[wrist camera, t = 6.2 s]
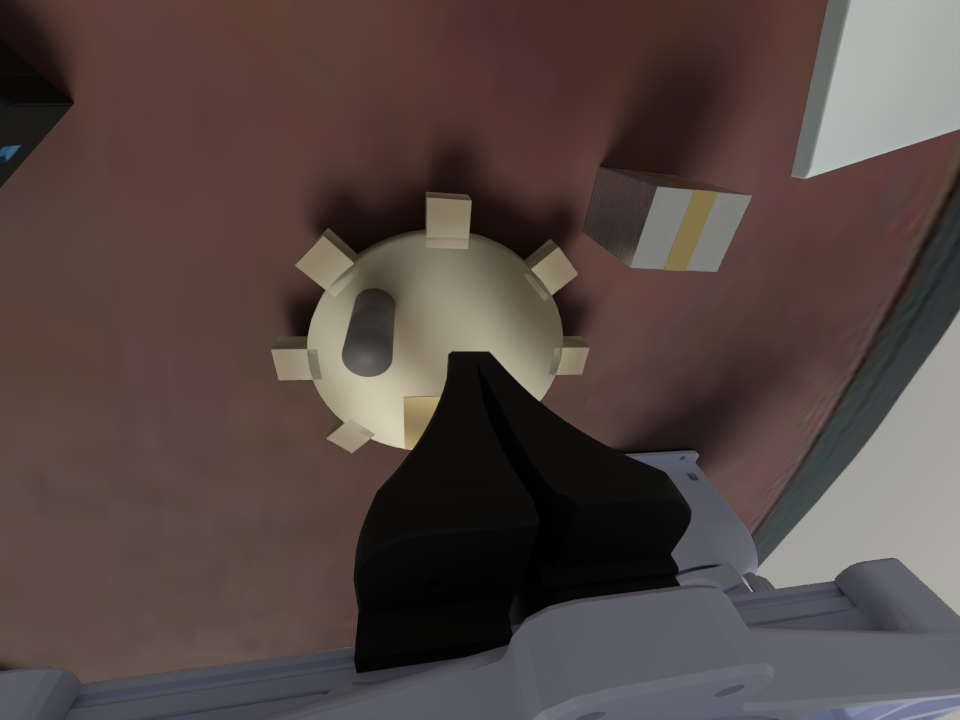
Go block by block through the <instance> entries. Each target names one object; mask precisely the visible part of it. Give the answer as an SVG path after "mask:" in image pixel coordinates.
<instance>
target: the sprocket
mask: <svg viewBox="0 0 960 720" xmlns="http://www.w3.org/2000/svg"><path fill="white" fill-rule="evenodd" d="M471 203H472V200H471V199H470V197H469V196H468V195H466V194H451V193H437V192H426V217H425V229H424V230H418V231H411V232H406V233H402V234H399V235H396V236H392V237H389V238H387V239H384V240H382V241H380V242H378V243H375V244H373V245H371V246H370V247H368V248H366V249H365V250H363V251H362V252H360V253H358V254H357V253H356V252H354V251H353V250H352V249H351V248H350V247H349V246H348V245H347V244H346V243H345V242H343V241H342V240H341V239H340V238H339V237H338V236H337V235H336V234H335V233H334V232H332V231H331V230H330V229H329V228H328V229H327V230H326V231H325V232H324V233H323V234H322V235H321V236H320V237H319V238H318V239H317V240H316V241H315V242H314V243H313V244H312V245H311V246H310V247H309V248H308V249H307V250H306V251H305V253H304V254H303V255H302V256H301V257H300V259H299V260H298V262H297V263H296V265H295V266H296V267H298V268H299V269H300V270H301V271H303V272H304V273H305V274H306V275H308V276H309V277H310V278H311V279H313V280H314V281H315V282H316V283H318V284H319V285H320V286H321V287H323V288H324V289H325V291H324V292H323V294H322V296H321V299H320V301H319V303H318V306H317V308H316V310H315V313H314V315H313V317H312V320H311V324H310V328H309V333H308V336H278V338H277V340H276V342H275V343H274V345H273V347H272V349H271V351H272V355H273V359H274V363H275V367H276V371H277V375H278V379H279V380H313V381H314V384H315V386H316V388H317V390H318V392H319V394H320V395H321V397H322V398H323V400H324V402H325V403H326V404H327V406H328V407H329V408H330V409H331V410H332V411H333V412H334V414H335V415H336V416H338V417H337V418H336V419H335V420H334V421H332V422H331V423H330V425H329V429H328V433H327V438H326V439H328V440H330V441H332V442H334V443H335V444H337V445H339V446H341V447H342V448H344V449H346V450H348V451H350V452H351V453H353V452H354V451H355V450H356V449H358V448H359V447H360V446H362V445H363V444H364V443H365V442H367V441H368V440H369V439H370V438H371V439H373V440H376V441H378V442H381V443H383V444H387V445H390V446H394V447H398V448H404V449H409V450H412V449H413V448H414V447H415V445H416V444H417V442H418V441H419V439H420V437H421V436H422V434H423V432H424V431H425V429H426V427H427V426H428V424H429V422H430V420H431V418H432V416H433V414H434V412H435V410H436V407H437V405H438V403H439V400H440V397H441V395H442V392H443V389H444V386H445V382H446V379H447V364H448V354H449V353H450V352H452V351H489V352H490V353H491V354H492V355H493V356H494V357H495V358H496V359H497V360H498V361H499V362H500V363H501V365H502V366H503V367H504V368H505V369H506V370H507V371H508V372H509V373H510V374H511V375H512V376H513V377H514V378H515V379H516V380H517V381H518V382H519V383H520V384H521V385H522V386H523V387H524V388H525V389H526V390H527V391H528V392H529V393H530V394H531V395H533V396H534V397H535V398H536V399H537V400H538V401H540V400H541V399H542V398H543V397H544V395H545V394H546V392H547V390H548V389H549V387H550V386H551V384H552V382H553V380H554V377H555V375H571V374H582V372H583V368H584V365H585V362H586V358H587V355H588V352H589V348H590V347H589V346H588V345H587V343H586V342H585V341H584V339H583V338H582V337H581V336H563V331H562V323H561V319H560V315H559V312H558V308H557V306H556V304H555V302H554V299H553V297H552V295H553V294H554V293H555V292H557V291H558V290H559V289H560V288H562V287H563V286H564V285H565V284H567V283H568V282H569V281H571V280H572V279H573V278H574V277H576V276H577V275H578V273H577V272H576V271H575V269H574V268H573V266H572V265H571V263H570V262H569V261H568V259H567V258H566V256H565V255H564V254H563V252H562V251H561V249H560V248H559V247H558V246H557V245H556V244H555V243H554V242H553V241H552V240H551V239H550V240H548V241H547V242H546V243H545V244H544V245H542V246H541V247H540V248H539V249H538V250H536V251H535V252H534V253H533V254H532V255H530V256H529V257H528V258H527V259H526V260H523V259H522V258H521V257H519V256H518V255H517V254H516V253H514V252H513V251H512V250H510V249H508V248H507V247H505V246H503V245H501V244H500V243H498V242H496V241H493V240H491V239H488V238H486V237H484V236H481V235H477V234H473V233H469V230H470V217H471Z"/></svg>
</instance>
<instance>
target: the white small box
mask: <svg viewBox="0 0 960 720" xmlns="http://www.w3.org/2000/svg"><path fill="white" fill-rule="evenodd" d="M751 197H752V196H751V195H748V194H744V193H740V192H737V191H733V190H730V189H726V188H722V187H719V186H715V185H711V184H708V183H704V182H700V181H697V180H693V179H689V178H686V177H682V176H679V175H674V174H664V173H655V172H648V171H640V170H631V169H628V170H626V169H616V168H606V167H599V170H598V174H597V178H596V182H595V186H594V190H593V194H592V198H591V202H590V206H589V210H588V214H587V218H586V222H585V226H584V230H583V233H585V234H586V235H587V236H589V237H590V238H591V239H593V240H594V241H595V242H597V243H598V244H599V245H601V246H602V247H603V248H605V249H606V250H607V251H609V252H610V253H611V254H613V255H614V256H615V257H617V258H618V259H619V260H621V261H622V262H624V263H625V264H626V265H628V266H629V267H630V268H648V269H663V270H676V271H686V270H689V271H709V272H717V270H718V268H719V266H720V264H721V261H722V259H723V257H724V255H725V253H726V251H727V249H728V246H729V244H730V242H731V240H732V238H733V236H734V234H735V231H736V229H737V227H738V225H739V223H740V221H741V219H742V216H743V214H744V212H745V210H746V208H747V206H748V204H749V201H750V199H751Z"/></svg>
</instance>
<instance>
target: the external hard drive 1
mask: <svg viewBox="0 0 960 720" xmlns="http://www.w3.org/2000/svg"><path fill="white" fill-rule="evenodd" d="M73 104H74V103H73V102H72V101H71V100H70V99H69V98H67V97H66V96H65V95H64V94H63V93H62V92H61V91H59V90H58V89H57V88H56V87H55V86H54V85H53V84H51V83H50V82H49V81H48V80H47V79H46V78H45V77H44V76H42V75H41V74H40V73H39V72H38V71H37V70H36V69H34V68H33V67H32V66H31V65H30V64H29V63H28V62H26V61H25V60H24V59H23V58H22V57H21V56H20V55H19V54H17V53H16V52H15V51H14V50H13V49H12V48H11V47H9V46H8V45H7V44H6V43H5V42H4V41H3V40H1V39H0V188H1V186H2V185H3V184H4V183H5V182H6V181H7V180H8V178H9V177H10V176H11V175H12V174H13V173H14V172H15V170H16V169H17V168H18V167H19V166H20V165H21V164H22V162H23V161H24V160H25V159H26V158H27V157H28V156H29V154H30V153H31V152H32V151H33V150H34V149H35V148H36V146H37V145H38V144H39V143H40V142H41V141H42V140H43V138H44V137H45V136H46V135H47V134H48V133H49V132H50V130H51V129H52V128H53V127H54V126H55V125H56V123H57V122H58V121H59V120H60V119H61V118H62V117H63V115H64V114H65V113H66V112H67V111H68V110H69V109H70V107H71V106H72V105H73Z"/></svg>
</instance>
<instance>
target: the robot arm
mask: <svg viewBox="0 0 960 720" xmlns="http://www.w3.org/2000/svg"><path fill="white" fill-rule="evenodd" d="M698 456H699V454H698V453H697V452H696V451H694V450H690V451H671V452H653V453H635V454H622V453H620V452H618V451H616V450H614V449H612V448H610V447H608V446H606V445H604V444H602V443H601V442H599V441H597V440H595V439H593V438H592V437H590V436H588V435H587V434H585V433H583V432H582V431H580V430H578V429H577V428H575V427H573V426H572V425H570V424H569V423H567V422H566V421H564V420H563V419H562V418H560V417H559V416H558V415H556V414H555V413H553V412H552V411H551V410H549V409H548V408H547V407H546V406H544V405H543V404H542V403H541V402H540V401H538V400H537V399H536V398H535V397H534V396H533V395H531V394H530V393H529V392H528V391H527V390H526V389H525V388H524V387H523V386H522V385H521V384H520V383H519V382H518V381H517V380H516V379H515V378H514V377H513V376H512V375H511V374H510V373H509V372H508V371H507V370H506V369H505V368H504V367H503V366H502V365H501V363H500V362H499V361H498V360H497V359H496V358H495V357H494V356H493V355H492V354H491V353H490V352H489V351H452V352H450V353H449V354H448V364H447V379H446V382H445V386H444V389H443V392H442V395H441V397H440V400H439V403H438V405H437V407H436V410H435V412H434V414H433V416H432V418H431V420H430V422H429V424H428V426H427V427H426V429H425V431H424V432H423V434H422V436H421V437H420V439H419V441H418V442H417V444H416V445H415V447H414V448H413V449H412V451H411V452H410V453H409V455H408V456H407V457H406V459H405V460H404V461H403V463H402V464H401V465H400V467H399V468H398V469H397V470H396V471H395V472H394V473H393V475H392V476H391V477H390V478H389V479H388V480H387V481H386V482H385V483H384V484H383V486H382V487H381V488H380V489H379V490H378V491H377V493H376V495H375V497H374V500H373V502H372V504H371V506H370V509H369V511H368V514H367V516H366V518H365V521H364V524H363V527H362V529H361V533H360V536H359V540H358V544H357V549H356V557H355V568H354V585H355V591H356V598H357V604H358V611H359V614H358V624H357V634H356V644H355V647H349V648H341V649H334V650H327V651H319V652H312V653H305V654H297V655H290V656H283V657H275V658H268V659H261V660H254V661H246V662H239V663H232V664H224V665H217V666H210V667H202V668H195V669H188V670H180V671H173V672H166V673H158V674H151V675H144V676H137V677H129V678H122V679H115V680H107V681H100V682H93V683H85V684H81V682H80V680H79V679H78V677H77V676H76V675H75V674H74V673H73V672H71V671H69V670H67V669H65V668H60V667H53V666H41V667H31V668H23V669H15V670H7V671H0V720H937V719H939V718H941V717H944V716H946V715H948V714H951V713H953V712H956V711H958V710H960V617H959V615H957V614H956V613H955V612H954V611H953V610H952V609H951V608H950V607H949V606H948V605H947V604H946V603H944V602H943V601H942V600H941V599H940V598H939V597H938V596H937V595H936V594H935V593H934V592H933V591H932V590H930V589H929V588H928V587H927V586H926V585H925V584H924V583H923V582H922V581H921V580H920V579H919V578H918V577H916V576H915V575H914V574H913V573H912V572H911V571H910V570H909V569H908V568H907V567H906V566H905V565H903V564H902V563H901V562H900V561H899V560H898V559H895V558H888V559H880V560H872V561H864V562H860V563H856V564H854V565H852V566H849V567H848V568H846V569H845V570H843V571H842V572H841V573H840V574H839V575H838V576H837V577H836V578H835V581H832V582H825V583H816V584H809V585H802V586H795V587H787V588H781V589H775V588H774V587H773V586H772V584H771V583H770V582H769V581H768V580H767V579H766V578H763V577H760V576H756V572H757V566H758V557H757V552H756V548H755V545H754V542H753V540H752V537H751V535H750V533H749V531H748V529H747V528H746V526H745V525H744V523H743V522H742V520H741V519H740V518H739V517H738V515H737V514H736V513H735V512H734V510H733V509H732V508H731V507H730V505H729V504H728V503H727V502H726V500H725V499H724V498H723V497H722V495H721V494H720V493H719V492H718V490H717V489H716V488H715V487H714V485H713V484H712V483H711V482H710V480H709V479H708V478H707V477H706V475H705V474H704V473H703V472H702V470H701V469H700V468H699V467H698V465H697V464H696V463H695V462H696V460H697V459H698ZM748 585H749V586H750V587H751V589H752V590H753V592H751V591H750V590H749V589H748V587H747V586H748Z"/></svg>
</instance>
